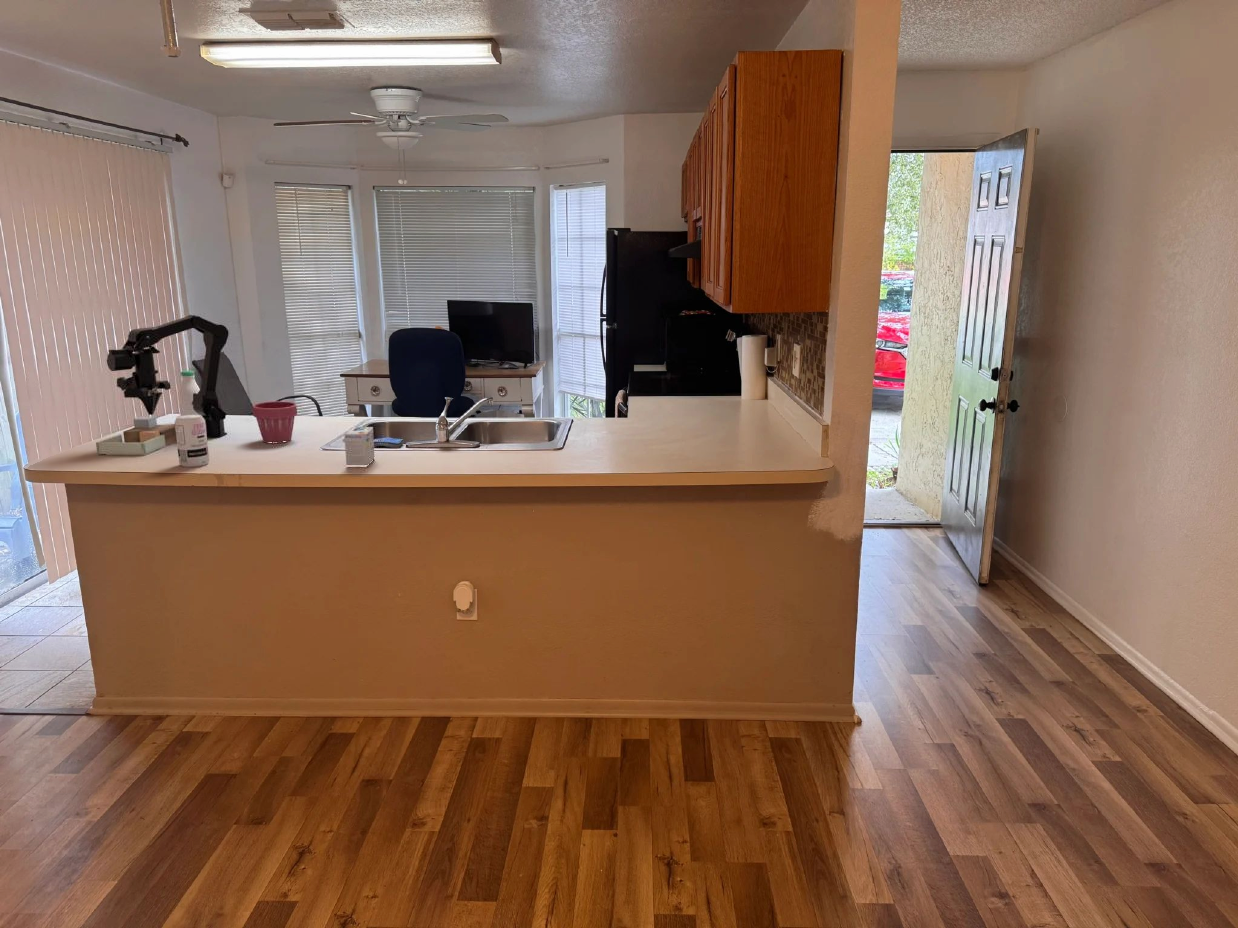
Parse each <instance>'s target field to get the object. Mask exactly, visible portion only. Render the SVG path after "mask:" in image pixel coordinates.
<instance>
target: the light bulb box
mask: <svg viewBox="0 0 1238 928" xmlns="http://www.w3.org/2000/svg"><path fill="white" fill-rule="evenodd" d="M374 441H375V440H374V426H358V427H357V426H353V427H351V428H350V429H349V430H347V432H346V433H344V450H345V466H346V465H368V464H370V462H371V461H372V460H373V459H374V457H375V442H374ZM370 465H371V464H370Z"/></svg>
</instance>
